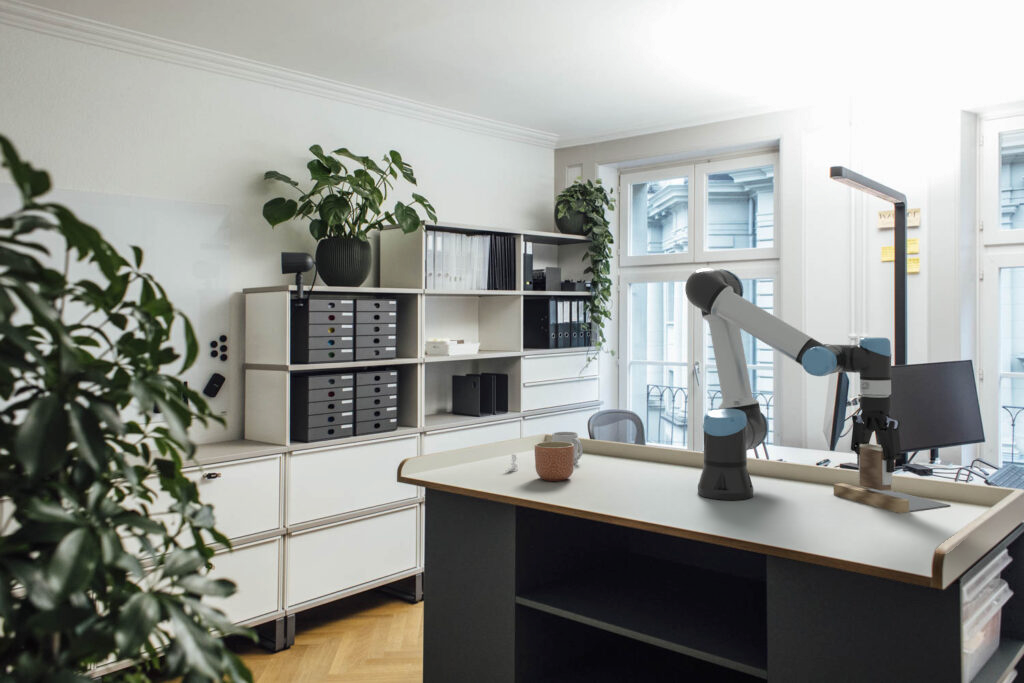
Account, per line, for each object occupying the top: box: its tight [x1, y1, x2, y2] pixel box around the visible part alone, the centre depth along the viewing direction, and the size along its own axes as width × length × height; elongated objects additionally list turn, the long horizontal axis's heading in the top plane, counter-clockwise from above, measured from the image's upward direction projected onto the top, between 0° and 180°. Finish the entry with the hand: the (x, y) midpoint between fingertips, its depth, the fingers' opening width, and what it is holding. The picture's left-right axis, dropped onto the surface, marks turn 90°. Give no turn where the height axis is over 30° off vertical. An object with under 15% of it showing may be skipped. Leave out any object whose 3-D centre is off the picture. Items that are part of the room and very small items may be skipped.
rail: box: [833, 482, 909, 514], centre depth 201 cm, size 22×3×3 cm, turn 21°
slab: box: [859, 442, 892, 491], centre depth 202 cm, size 7×4×11 cm, turn 21°
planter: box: [534, 440, 575, 482], centre depth 237 cm, size 12×12×11 cm
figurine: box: [506, 453, 519, 473], centre depth 251 cm, size 8×8×6 cm
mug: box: [551, 431, 584, 465], centre depth 264 cm, size 11×10×10 cm
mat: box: [867, 488, 951, 513], centre depth 204 cm, size 22×14×1 cm, turn 21°
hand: (875, 481), depth 202 cm, fingers closed on slab, 7 cm apart
